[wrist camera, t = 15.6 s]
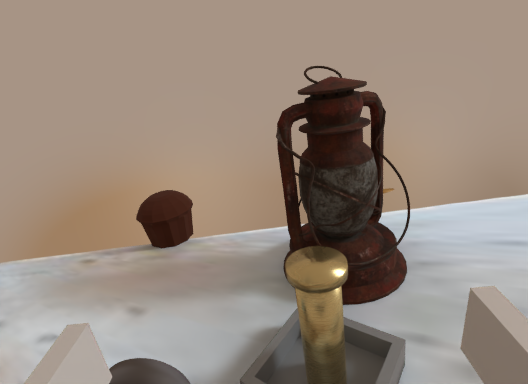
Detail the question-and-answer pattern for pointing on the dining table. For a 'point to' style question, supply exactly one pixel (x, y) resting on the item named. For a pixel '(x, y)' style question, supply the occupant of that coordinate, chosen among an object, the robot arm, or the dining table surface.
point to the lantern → (341, 185)
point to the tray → (356, 349)
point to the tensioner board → (145, 372)
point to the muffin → (166, 218)
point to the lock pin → (320, 311)
